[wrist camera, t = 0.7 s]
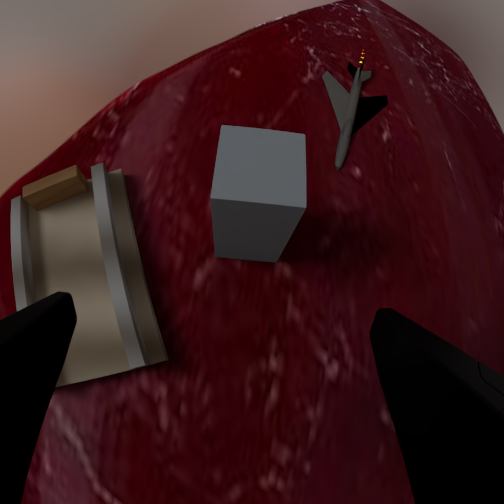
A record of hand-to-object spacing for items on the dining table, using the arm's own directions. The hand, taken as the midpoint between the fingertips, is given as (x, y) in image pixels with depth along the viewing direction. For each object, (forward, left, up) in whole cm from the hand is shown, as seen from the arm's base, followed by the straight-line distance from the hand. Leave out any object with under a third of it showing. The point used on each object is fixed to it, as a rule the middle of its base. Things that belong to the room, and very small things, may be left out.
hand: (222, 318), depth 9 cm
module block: (+4, -7, -13) cm, 16 cm away
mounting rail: (+11, +5, -13) cm, 18 cm away
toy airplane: (+7, -26, -14) cm, 30 cm away
